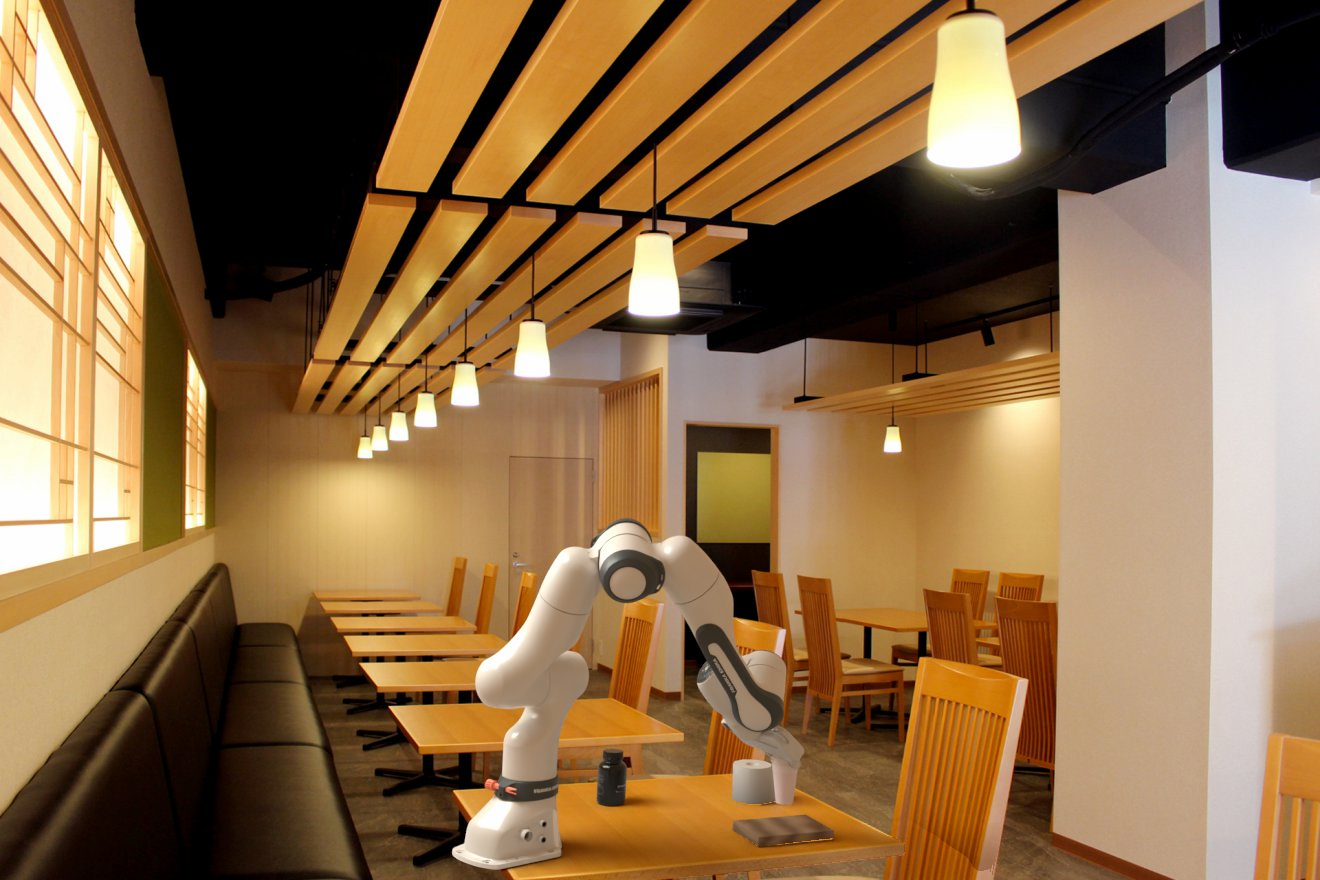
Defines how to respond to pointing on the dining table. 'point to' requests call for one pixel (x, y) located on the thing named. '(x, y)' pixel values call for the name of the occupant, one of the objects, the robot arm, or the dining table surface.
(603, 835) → the dining table surface
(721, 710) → the robot arm
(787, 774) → the smoothie
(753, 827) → the walnut board
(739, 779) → the toilet tissue
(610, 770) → the supplement bottle
